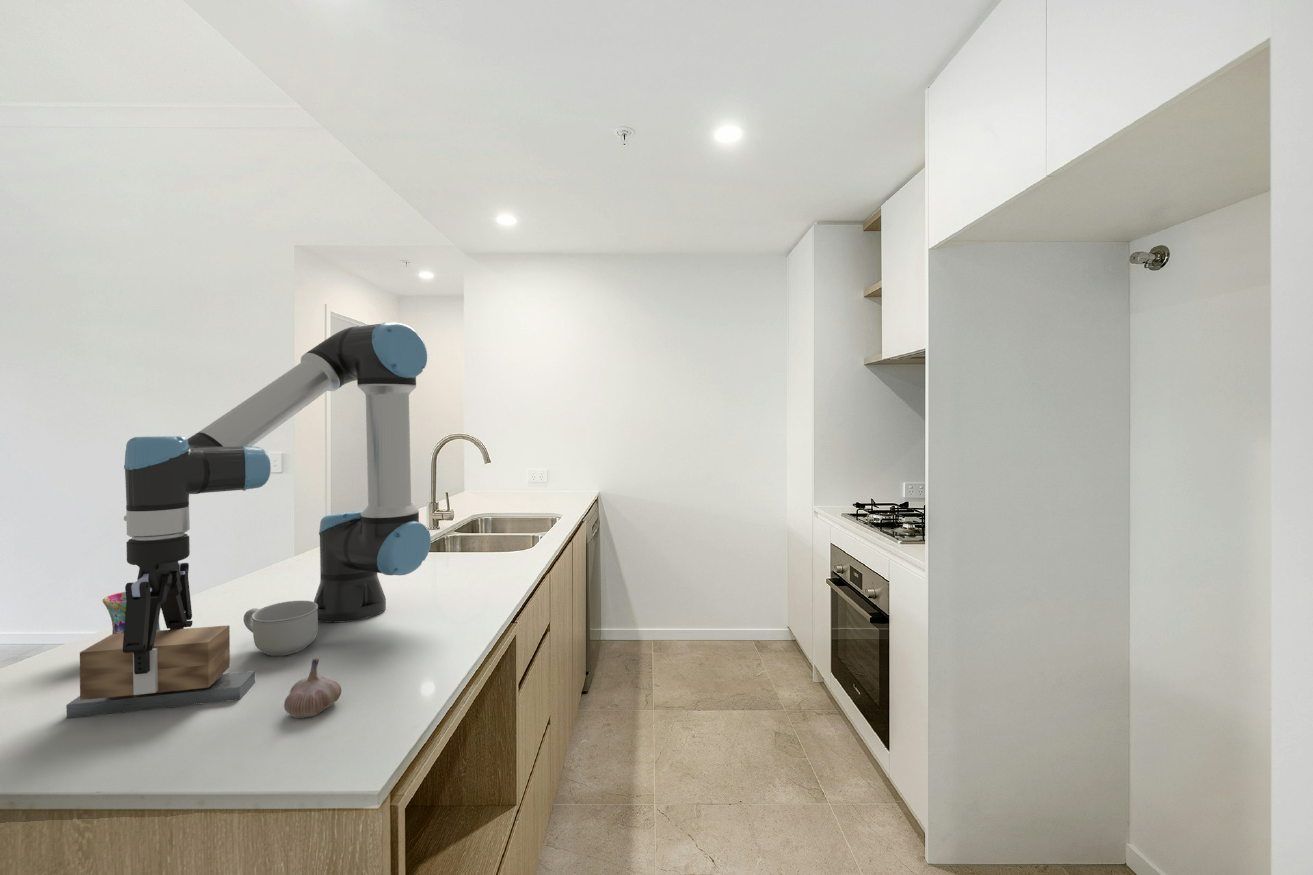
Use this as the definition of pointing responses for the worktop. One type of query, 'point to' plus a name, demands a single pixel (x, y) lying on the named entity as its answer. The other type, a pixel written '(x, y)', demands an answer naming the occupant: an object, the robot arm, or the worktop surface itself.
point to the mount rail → (166, 697)
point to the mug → (118, 611)
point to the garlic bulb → (312, 694)
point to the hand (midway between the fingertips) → (160, 680)
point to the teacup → (283, 626)
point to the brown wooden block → (180, 662)
